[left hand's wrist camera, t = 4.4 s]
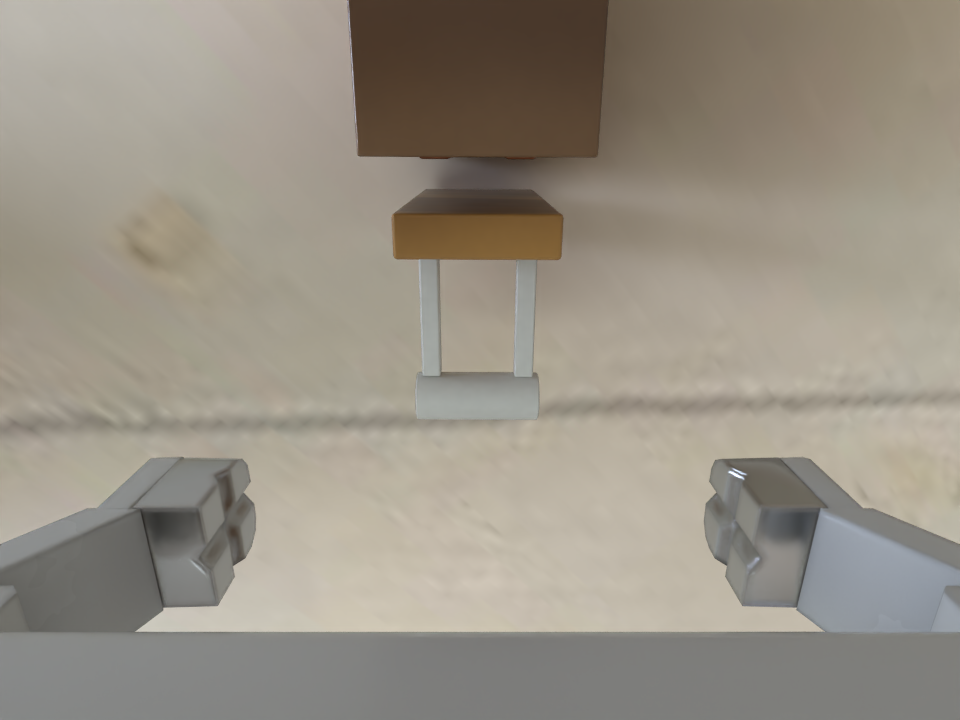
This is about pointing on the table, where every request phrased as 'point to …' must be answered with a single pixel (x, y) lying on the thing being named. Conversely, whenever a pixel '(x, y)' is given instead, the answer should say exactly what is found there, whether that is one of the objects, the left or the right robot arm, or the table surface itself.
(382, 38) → the cabinet
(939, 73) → the table surface
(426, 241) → the drawer
